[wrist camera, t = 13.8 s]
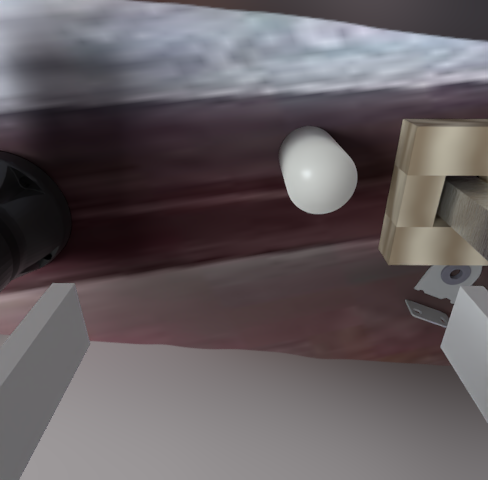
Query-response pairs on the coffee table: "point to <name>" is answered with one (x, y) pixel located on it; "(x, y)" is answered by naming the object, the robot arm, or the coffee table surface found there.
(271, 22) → the coffee table surface
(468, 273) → the bracket
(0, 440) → the robot arm
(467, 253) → the socket block
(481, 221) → the grey long block
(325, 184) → the plastic dowel
